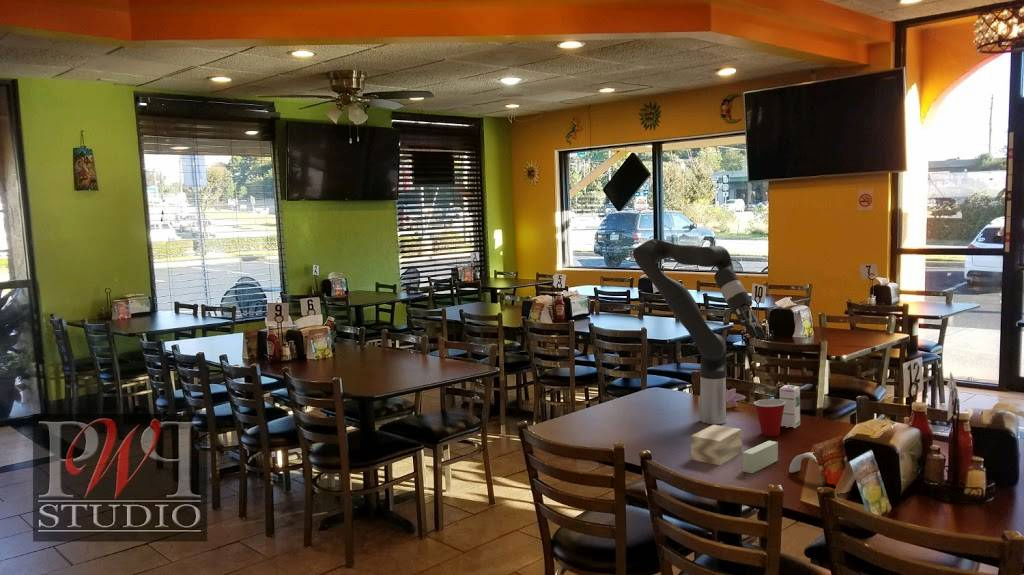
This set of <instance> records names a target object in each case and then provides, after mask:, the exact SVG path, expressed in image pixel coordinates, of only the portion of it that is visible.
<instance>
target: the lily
mask: <svg viewBox="0 0 1024 575" xmlns="http://www.w3.org/2000/svg"><path fill="white" fill-rule="evenodd" d="M736 391H737V390H736V388H735V387H734V388H731V389H729V390H728V388H726V410H727V411H728V404H731V405H732V406H734V407H736V408H738V403H737V402H738V401H739V400H743V399H747V397H746V396H745V395H743V394H741V393H736Z"/></svg>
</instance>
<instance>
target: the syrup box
mask: <svg viewBox="0 0 1024 575" xmlns="http://www.w3.org/2000/svg"><path fill="white" fill-rule="evenodd" d="M800 388H801V387H800V386H797V385H790V384H784V385H783V386H782V387H780V388H779V399H780V400H784V401H786V403H785V405H784V411H783V416H782V422H781V427H783V426H785V427H784V428H789V427H793V428H792V429H796V428H797V427H799V426H801V389H800Z"/></svg>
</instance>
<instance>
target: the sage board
mask: <svg viewBox="0 0 1024 575" xmlns="http://www.w3.org/2000/svg"><path fill="white" fill-rule="evenodd" d="M778 446H779V442H778V441H772V440H767V441H765V442H763V443H760V444H758V445H756V446H753V447H751V448H749V449H746V450H745V451H742V472H745V473H749V474H753V473H756V472H758V471H760V470H762V469H764V468H766V467H768V466H770V465H772V464H774V463H775V462H777V461H779V458H778V457H779V453H778V452H779V447H778Z"/></svg>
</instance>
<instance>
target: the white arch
mask: <svg viewBox="0 0 1024 575" xmlns="http://www.w3.org/2000/svg"><path fill="white" fill-rule="evenodd" d="M813 453H814V452H809V451H808V452H805V453H802V454H798V455H796V456H795V457H794V458H793V459H792V460H791V462H790V464H789V469H788V472H789V473H797V472H799V471H801V466H802V461H803V459H805V458H809V459H812V460H813V461H814V462H816V464H817V460H816V457H815V456H814V455H813Z"/></svg>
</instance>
